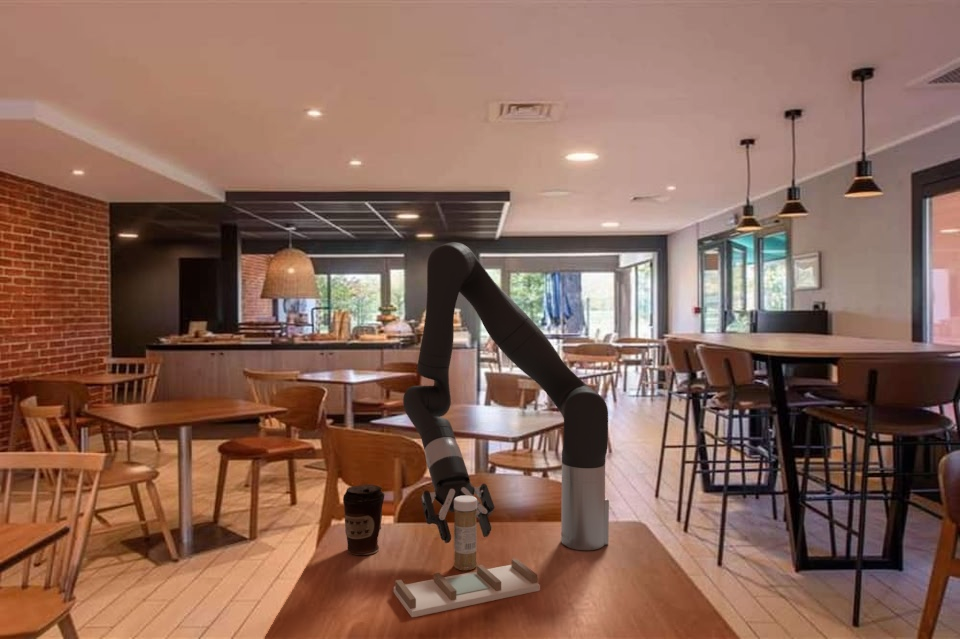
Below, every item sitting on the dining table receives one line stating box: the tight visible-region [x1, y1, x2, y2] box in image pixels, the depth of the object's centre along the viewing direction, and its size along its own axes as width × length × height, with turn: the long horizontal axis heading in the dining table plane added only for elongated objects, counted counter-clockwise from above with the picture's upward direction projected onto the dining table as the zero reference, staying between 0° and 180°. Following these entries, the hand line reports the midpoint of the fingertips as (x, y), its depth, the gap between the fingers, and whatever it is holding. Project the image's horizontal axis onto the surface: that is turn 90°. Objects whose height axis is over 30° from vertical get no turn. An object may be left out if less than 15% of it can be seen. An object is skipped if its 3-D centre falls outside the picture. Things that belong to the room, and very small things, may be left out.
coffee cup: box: [342, 484, 386, 556], centre depth 131 cm, size 9×8×13 cm
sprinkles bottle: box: [453, 495, 478, 571], centre depth 123 cm, size 5×5×13 cm
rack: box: [393, 558, 541, 618], centre depth 113 cm, size 24×10×2 cm, turn 115°
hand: (468, 538), depth 122 cm, fingers open, 7 cm apart
